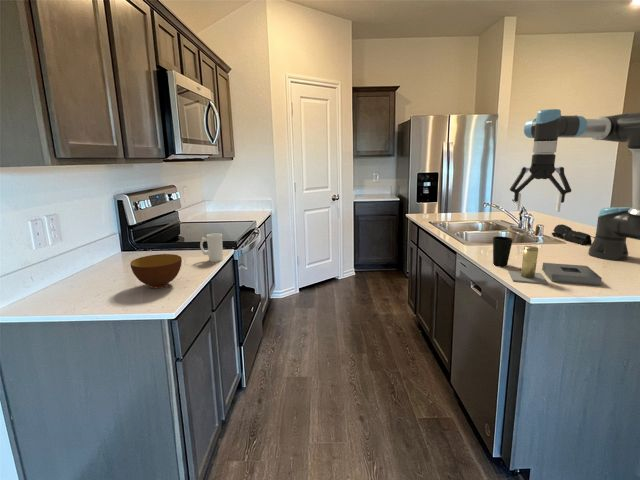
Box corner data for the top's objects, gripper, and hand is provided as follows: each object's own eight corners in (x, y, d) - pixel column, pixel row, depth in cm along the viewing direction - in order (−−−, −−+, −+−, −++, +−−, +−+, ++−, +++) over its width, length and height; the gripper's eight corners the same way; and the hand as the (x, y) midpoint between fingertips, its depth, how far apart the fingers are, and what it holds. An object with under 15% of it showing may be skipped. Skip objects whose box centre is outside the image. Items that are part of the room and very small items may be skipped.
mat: (541, 274, 156) (541, 273, 156) (548, 284, 145) (548, 283, 145) (508, 272, 159) (508, 270, 159) (513, 281, 148) (513, 280, 148)
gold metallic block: (533, 275, 153) (536, 246, 151) (535, 279, 149) (539, 249, 146) (519, 274, 155) (523, 245, 152) (522, 277, 150) (525, 248, 148)
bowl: (122, 290, 141) (119, 264, 139) (158, 276, 157) (155, 252, 155) (160, 296, 135) (157, 269, 133) (193, 281, 151) (191, 256, 149)
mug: (224, 257, 184) (222, 233, 181) (222, 261, 177) (221, 236, 174) (202, 258, 182) (200, 233, 180) (200, 262, 176) (198, 236, 173)
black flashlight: (583, 247, 201) (586, 232, 199) (547, 236, 225) (549, 222, 222) (594, 247, 202) (597, 231, 200) (557, 235, 226) (559, 221, 224)
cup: (487, 262, 173) (489, 236, 170) (503, 262, 173) (506, 236, 171) (496, 267, 165) (499, 240, 162) (513, 267, 166) (516, 240, 163)
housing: (586, 272, 158) (587, 265, 157) (600, 285, 143) (601, 278, 142) (542, 269, 163) (542, 262, 162) (551, 281, 148) (552, 274, 147)
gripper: (579, 153, 142) (571, 210, 147) (505, 153, 149) (500, 208, 154) (586, 153, 135) (578, 213, 140) (508, 154, 142) (502, 211, 147)
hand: (537, 210), depth 147 cm, fingers open, 13 cm apart
